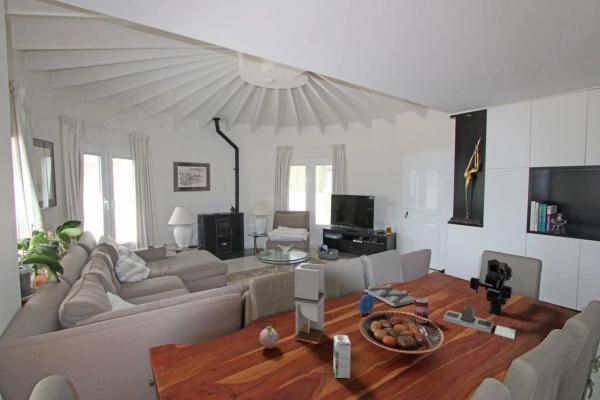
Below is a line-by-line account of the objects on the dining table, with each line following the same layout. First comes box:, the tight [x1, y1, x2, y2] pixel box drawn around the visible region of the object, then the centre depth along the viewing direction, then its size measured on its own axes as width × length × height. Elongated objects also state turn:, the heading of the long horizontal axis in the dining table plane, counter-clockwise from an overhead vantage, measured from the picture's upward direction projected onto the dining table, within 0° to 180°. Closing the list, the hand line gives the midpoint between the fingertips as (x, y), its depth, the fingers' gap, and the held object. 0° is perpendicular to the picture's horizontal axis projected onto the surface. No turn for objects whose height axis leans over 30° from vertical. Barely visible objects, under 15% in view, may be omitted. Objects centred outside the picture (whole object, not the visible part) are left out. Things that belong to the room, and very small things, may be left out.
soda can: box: [413, 297, 430, 320], centre depth 157 cm, size 7×7×12 cm
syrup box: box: [332, 334, 352, 379], centre depth 113 cm, size 6×6×14 cm
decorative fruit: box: [259, 325, 279, 350], centre depth 131 cm, size 9×8×10 cm
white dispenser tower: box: [294, 262, 325, 342], centre depth 140 cm, size 11×11×35 cm
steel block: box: [461, 305, 475, 323], centre depth 156 cm, size 5×5×8 cm
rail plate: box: [442, 309, 494, 334], centre depth 156 cm, size 11×22×2 cm, turn 50°
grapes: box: [357, 293, 377, 314], centre depth 167 cm, size 12×7×12 cm, turn 109°
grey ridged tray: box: [363, 283, 417, 308], centre depth 192 cm, size 30×22×7 cm
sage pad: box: [493, 325, 516, 341], centre depth 146 cm, size 11×8×1 cm
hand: (486, 295), depth 150 cm, fingers open, 9 cm apart
